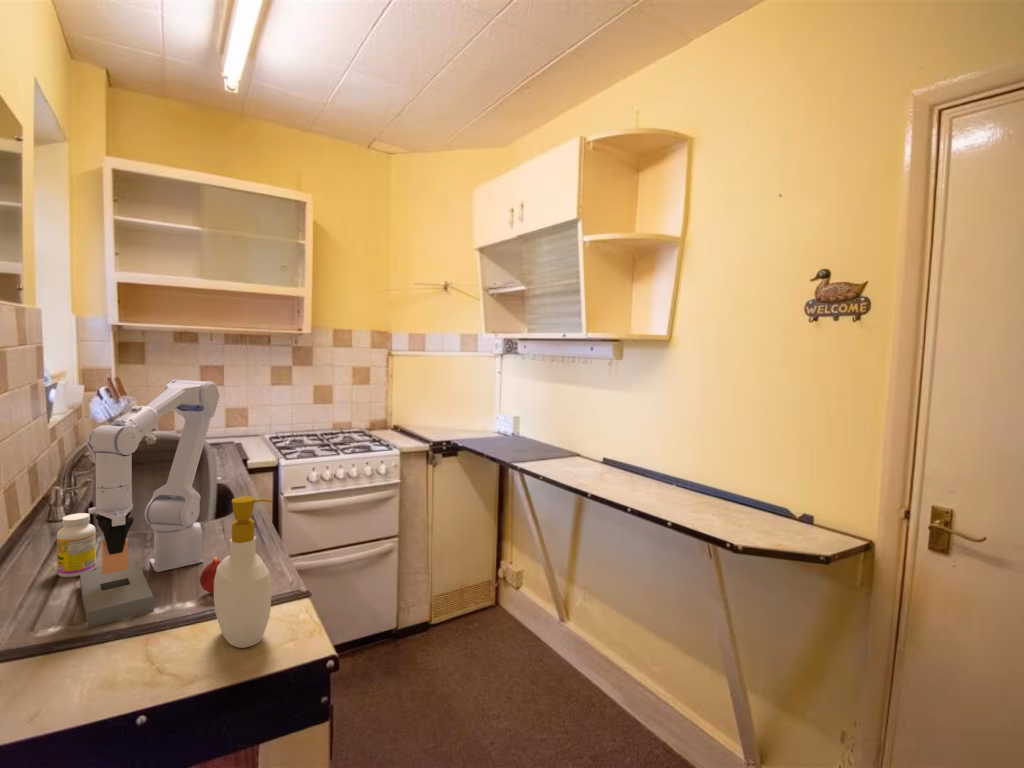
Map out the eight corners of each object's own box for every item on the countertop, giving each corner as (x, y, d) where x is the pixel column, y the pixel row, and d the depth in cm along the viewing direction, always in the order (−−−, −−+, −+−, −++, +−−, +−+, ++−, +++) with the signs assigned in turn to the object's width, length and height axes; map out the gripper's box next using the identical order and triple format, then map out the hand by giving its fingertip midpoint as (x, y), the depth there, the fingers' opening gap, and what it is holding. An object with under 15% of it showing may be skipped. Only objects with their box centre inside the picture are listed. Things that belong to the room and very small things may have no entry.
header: (137, 574, 115) (137, 561, 115) (153, 610, 101) (153, 595, 101) (80, 586, 108) (79, 573, 108) (87, 628, 94) (87, 612, 94)
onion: (237, 591, 110) (238, 555, 109) (212, 603, 105) (212, 565, 104) (219, 585, 112) (219, 549, 112) (193, 596, 107) (193, 559, 106)
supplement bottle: (58, 569, 115) (57, 514, 114) (96, 563, 120) (95, 509, 119) (56, 581, 110) (55, 523, 109) (96, 573, 114) (95, 518, 113)
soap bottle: (286, 643, 92) (288, 502, 90) (233, 664, 86) (234, 513, 84) (254, 612, 102) (255, 484, 100) (204, 629, 95) (204, 493, 93)
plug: (126, 564, 107) (126, 536, 106) (128, 569, 104) (128, 540, 104) (101, 569, 104) (101, 540, 103) (103, 574, 102) (103, 545, 101)
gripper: (85, 479, 105) (86, 543, 106) (91, 497, 95) (92, 567, 96) (128, 474, 110) (128, 535, 111) (138, 490, 100) (138, 558, 101)
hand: (114, 550), depth 104 cm, fingers closed on plug, 3 cm apart
